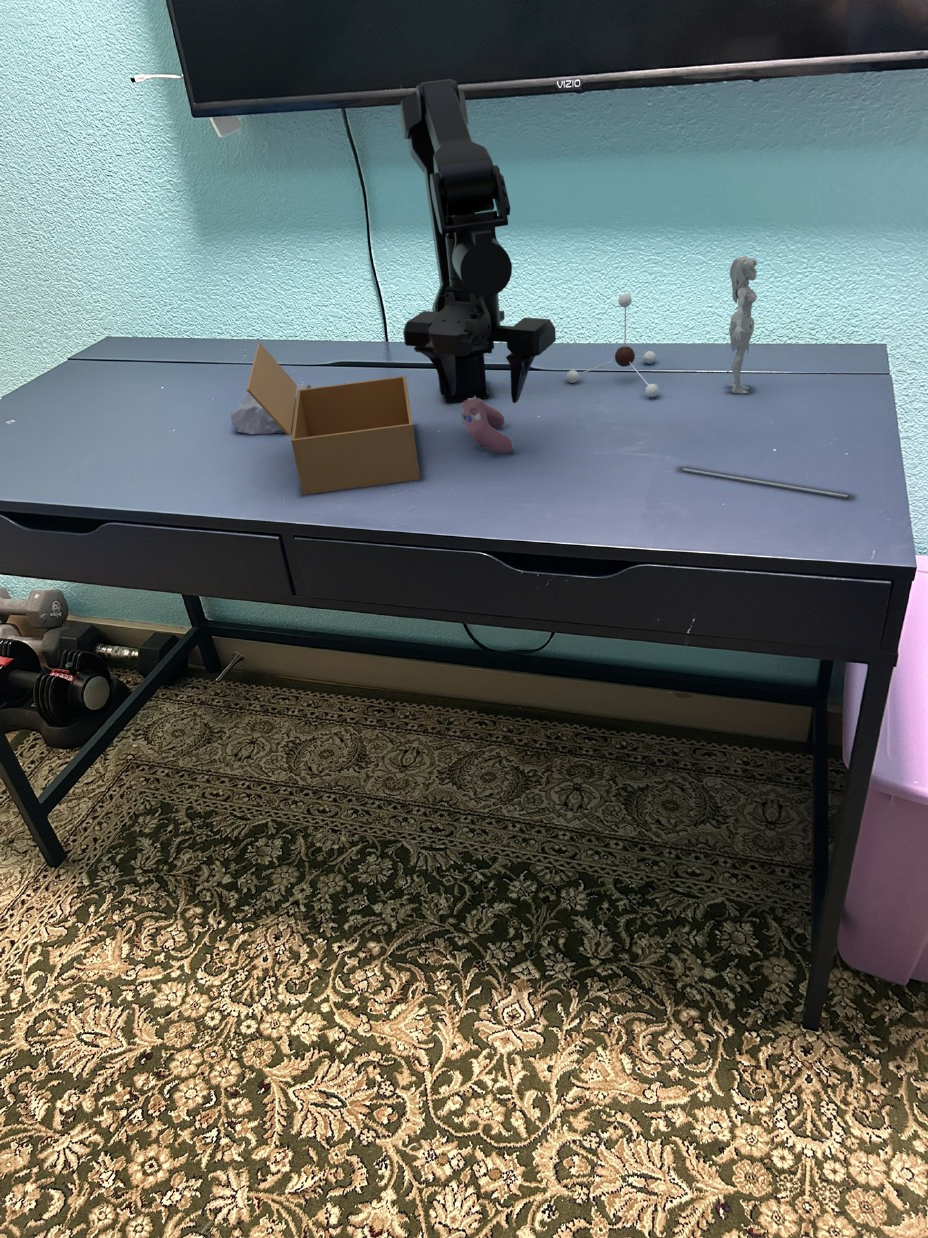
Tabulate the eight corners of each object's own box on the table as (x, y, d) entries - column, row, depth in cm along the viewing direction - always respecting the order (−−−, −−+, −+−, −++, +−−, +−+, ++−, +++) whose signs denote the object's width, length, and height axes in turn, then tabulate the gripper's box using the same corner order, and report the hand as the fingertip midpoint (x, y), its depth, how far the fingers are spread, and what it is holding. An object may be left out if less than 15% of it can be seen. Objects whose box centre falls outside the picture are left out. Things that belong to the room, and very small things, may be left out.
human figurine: (746, 407, 121) (759, 269, 111) (717, 407, 122) (727, 270, 112) (750, 374, 130) (762, 244, 120) (723, 374, 131) (733, 245, 121)
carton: (420, 479, 113) (412, 424, 109) (303, 495, 112) (290, 440, 108) (412, 426, 127) (405, 375, 122) (307, 440, 126) (297, 389, 122)
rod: (848, 502, 99) (849, 496, 99) (682, 474, 108) (682, 469, 108) (849, 498, 100) (850, 493, 99) (684, 471, 109) (684, 466, 108)
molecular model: (564, 381, 135) (561, 296, 127) (651, 360, 139) (653, 276, 131) (608, 411, 124) (608, 320, 117) (701, 387, 128) (706, 297, 121)
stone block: (233, 445, 131) (293, 432, 128) (219, 415, 129) (280, 400, 125) (264, 415, 141) (321, 402, 137) (252, 386, 138) (309, 372, 135)
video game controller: (478, 437, 125) (451, 397, 121) (506, 420, 124) (480, 379, 120) (486, 469, 117) (457, 427, 113) (516, 450, 116) (488, 407, 112)
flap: (248, 388, 104) (246, 390, 104) (290, 434, 108) (288, 436, 108) (259, 342, 118) (258, 343, 118) (296, 384, 121) (295, 386, 121)
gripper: (371, 290, 106) (390, 415, 115) (515, 298, 98) (523, 431, 107) (418, 264, 114) (432, 382, 123) (555, 269, 106) (559, 396, 115)
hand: (483, 398), depth 116 cm, fingers open, 9 cm apart
